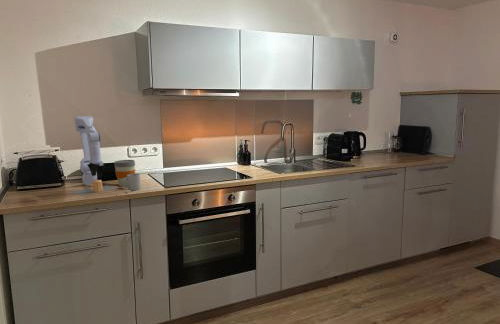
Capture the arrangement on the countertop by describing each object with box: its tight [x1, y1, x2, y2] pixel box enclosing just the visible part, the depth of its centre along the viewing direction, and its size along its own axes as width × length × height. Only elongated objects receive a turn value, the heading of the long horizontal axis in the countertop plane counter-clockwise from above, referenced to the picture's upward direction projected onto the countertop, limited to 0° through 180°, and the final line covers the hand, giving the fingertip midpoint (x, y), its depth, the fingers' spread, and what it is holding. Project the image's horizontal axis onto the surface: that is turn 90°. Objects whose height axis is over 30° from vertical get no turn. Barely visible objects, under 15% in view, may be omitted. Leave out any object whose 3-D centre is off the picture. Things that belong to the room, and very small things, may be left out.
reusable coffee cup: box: [114, 159, 136, 187], centre depth 233 cm, size 13×13×15 cm
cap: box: [92, 179, 104, 193], centre depth 210 cm, size 5×5×6 cm
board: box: [71, 184, 119, 197], centre depth 213 cm, size 14×22×4 cm, turn 137°
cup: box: [122, 173, 142, 192], centre depth 219 cm, size 7×10×9 cm
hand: (96, 176), depth 213 cm, fingers open, 7 cm apart
